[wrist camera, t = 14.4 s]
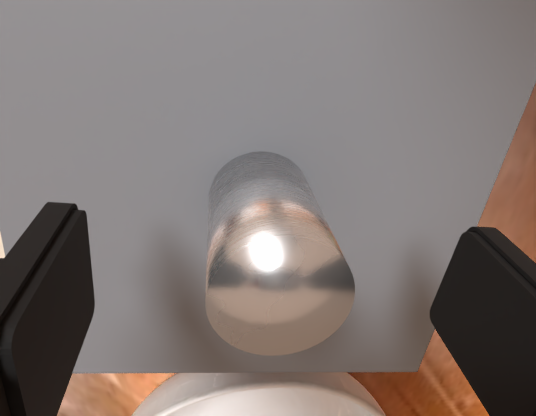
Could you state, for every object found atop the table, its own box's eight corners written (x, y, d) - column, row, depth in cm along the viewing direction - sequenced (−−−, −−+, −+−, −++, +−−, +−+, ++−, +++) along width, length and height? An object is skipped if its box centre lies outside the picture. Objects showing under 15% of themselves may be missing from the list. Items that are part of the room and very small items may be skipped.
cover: (433, -32, 21) (841, -79, 7) (356, 257, 29) (481, 493, 15) (62, -93, 18) (-401, -354, 4) (90, 246, 26) (-46, 522, 12)
